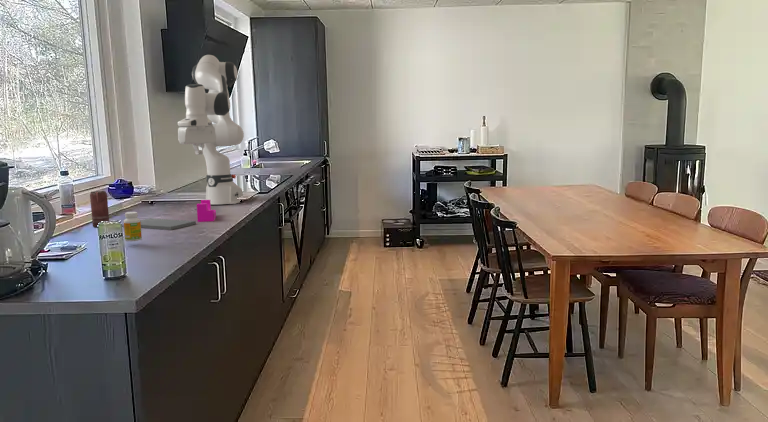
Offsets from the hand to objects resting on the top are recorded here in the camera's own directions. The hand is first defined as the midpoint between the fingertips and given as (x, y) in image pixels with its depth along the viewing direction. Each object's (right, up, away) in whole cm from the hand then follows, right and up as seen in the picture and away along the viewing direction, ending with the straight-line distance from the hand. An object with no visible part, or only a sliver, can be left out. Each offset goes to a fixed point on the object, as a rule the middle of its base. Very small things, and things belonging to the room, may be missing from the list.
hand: (199, 154), depth 250 cm
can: (-33, -31, -19) cm, 49 cm away
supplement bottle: (-7, -35, -49) cm, 61 cm away
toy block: (+5, -28, -4) cm, 29 cm away
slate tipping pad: (-9, -30, -19) cm, 37 cm away
